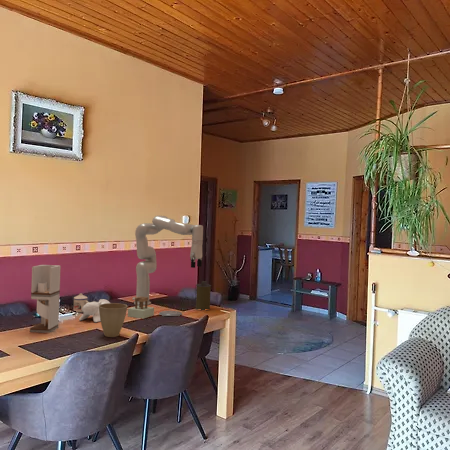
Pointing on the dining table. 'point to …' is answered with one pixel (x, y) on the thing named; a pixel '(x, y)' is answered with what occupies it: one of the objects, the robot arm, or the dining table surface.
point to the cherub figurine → (92, 310)
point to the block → (140, 312)
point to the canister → (203, 296)
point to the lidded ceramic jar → (79, 302)
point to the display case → (46, 296)
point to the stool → (141, 301)
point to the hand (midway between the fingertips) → (196, 267)
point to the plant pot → (112, 318)
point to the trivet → (170, 313)
